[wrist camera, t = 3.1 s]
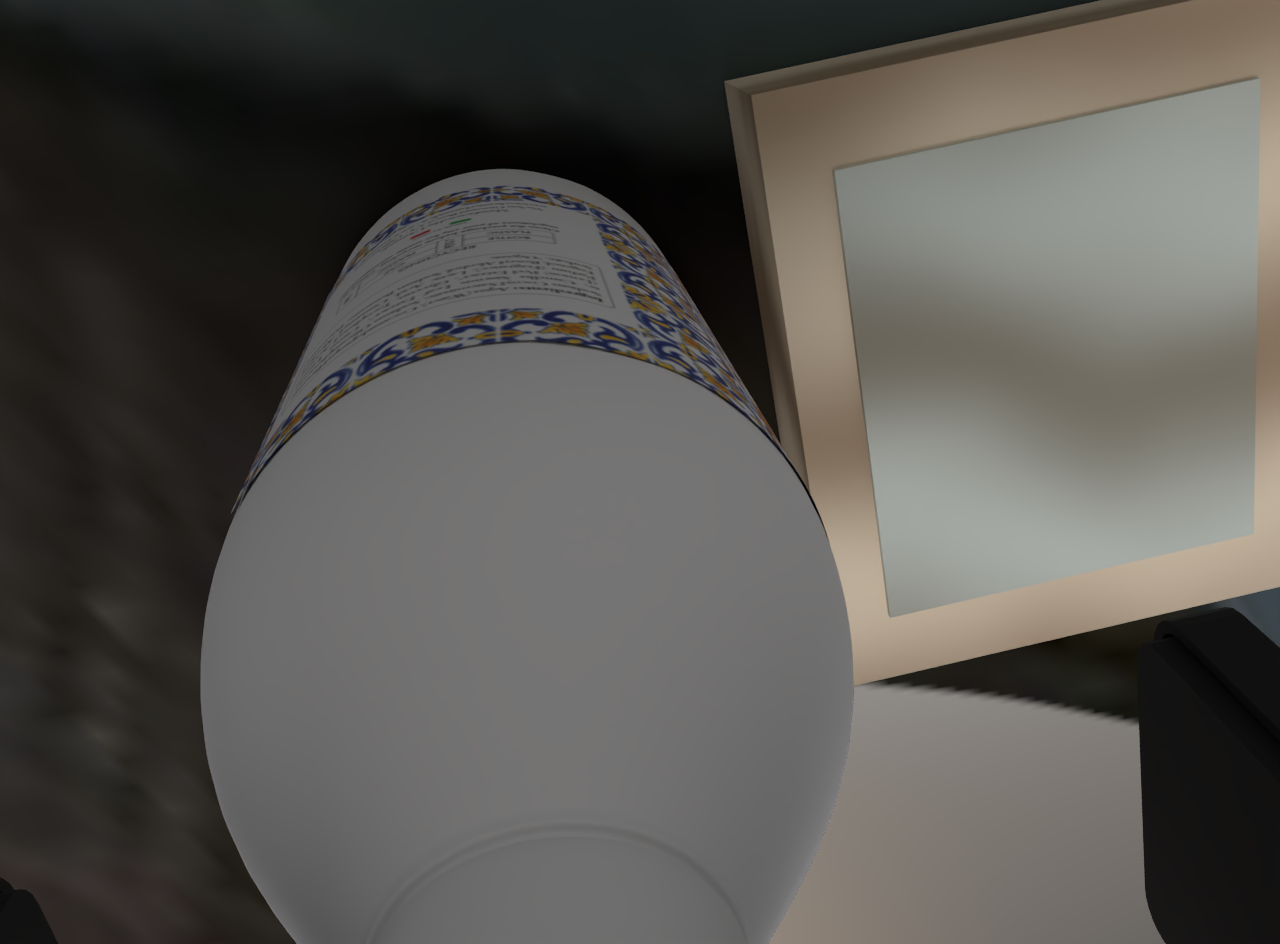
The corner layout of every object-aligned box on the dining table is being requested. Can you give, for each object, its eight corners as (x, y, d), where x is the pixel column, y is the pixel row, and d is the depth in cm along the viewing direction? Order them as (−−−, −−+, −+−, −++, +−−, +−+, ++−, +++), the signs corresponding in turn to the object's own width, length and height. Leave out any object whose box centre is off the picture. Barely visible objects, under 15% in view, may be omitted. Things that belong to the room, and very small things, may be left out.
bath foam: (638, 527, 26) (1007, 1863, 8) (306, 471, 25) (-185, 1930, 6) (722, 207, 24) (1542, 1061, 5) (360, 125, 22) (-185, 897, 4)
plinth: (723, 81, 23) (752, 95, 20) (1240, -30, 23) (1330, -28, 21) (809, 628, 28) (841, 693, 25) (1236, 529, 28) (1307, 584, 26)
